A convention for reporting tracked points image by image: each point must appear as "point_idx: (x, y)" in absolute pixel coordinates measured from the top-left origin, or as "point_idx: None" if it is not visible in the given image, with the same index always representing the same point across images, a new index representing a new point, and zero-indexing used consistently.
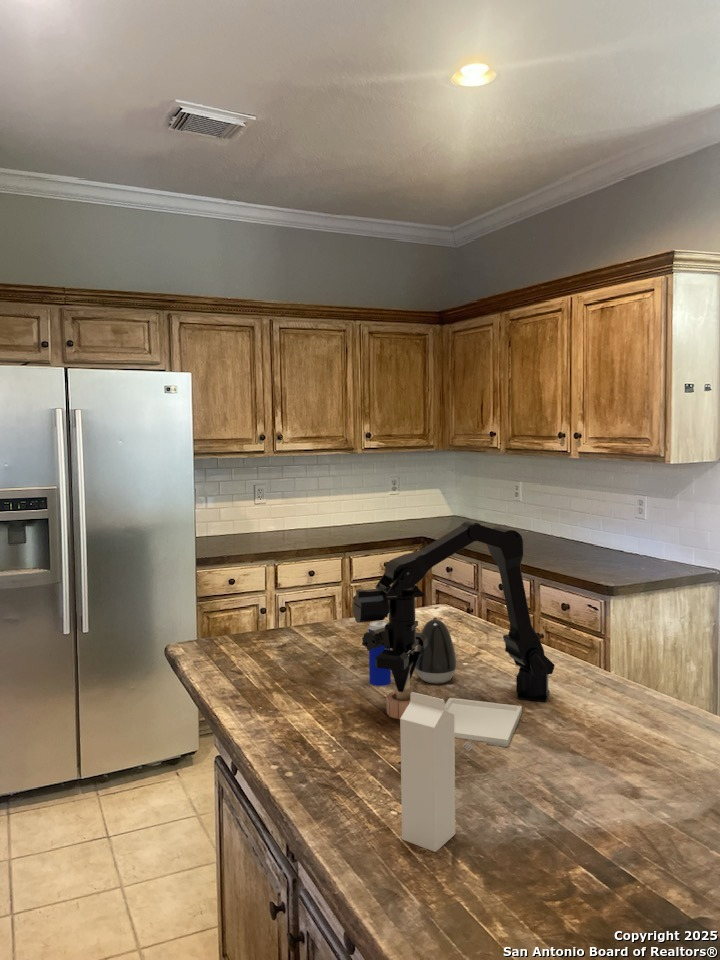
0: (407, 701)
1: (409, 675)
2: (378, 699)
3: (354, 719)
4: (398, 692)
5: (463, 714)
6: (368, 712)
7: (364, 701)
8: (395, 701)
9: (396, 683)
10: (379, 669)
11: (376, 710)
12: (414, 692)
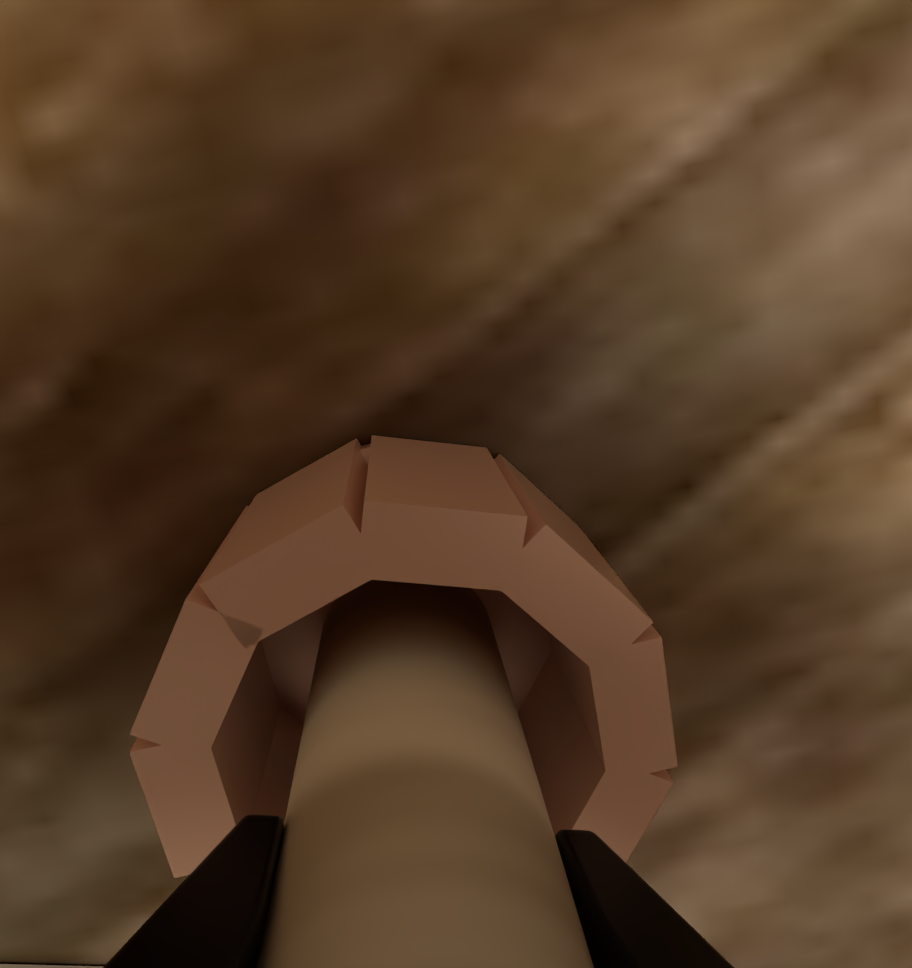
0: None
1: None
2: (862, 214)
3: (87, 19)
4: (298, 780)
5: None
6: (389, 175)
7: (778, 18)
8: (170, 695)
9: (132, 953)
10: None
11: (479, 272)
12: None
